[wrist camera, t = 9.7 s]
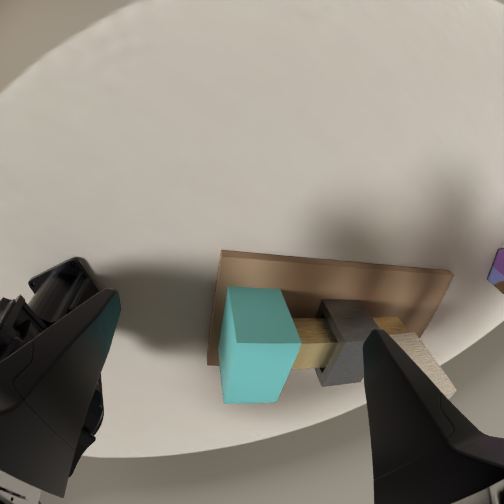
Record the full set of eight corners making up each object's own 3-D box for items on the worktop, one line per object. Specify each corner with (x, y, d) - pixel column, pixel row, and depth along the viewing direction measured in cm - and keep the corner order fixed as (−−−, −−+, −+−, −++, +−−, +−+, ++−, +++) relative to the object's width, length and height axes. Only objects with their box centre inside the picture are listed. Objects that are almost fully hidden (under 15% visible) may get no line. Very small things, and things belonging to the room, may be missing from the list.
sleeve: (304, 343, 27) (321, 386, 22) (322, 298, 24) (345, 342, 20) (339, 342, 27) (360, 381, 23) (359, 299, 25) (386, 339, 20)
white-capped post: (237, 347, 24) (257, 459, 15) (244, 311, 22) (271, 433, 13) (383, 342, 27) (430, 418, 18) (399, 312, 25) (456, 390, 16)
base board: (206, 357, 27) (207, 365, 26) (221, 250, 22) (222, 256, 21) (406, 348, 32) (410, 353, 32) (449, 270, 27) (454, 275, 26)
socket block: (218, 348, 25) (223, 403, 20) (228, 286, 22) (236, 342, 17) (262, 349, 26) (276, 402, 21) (280, 289, 23) (301, 343, 18)
